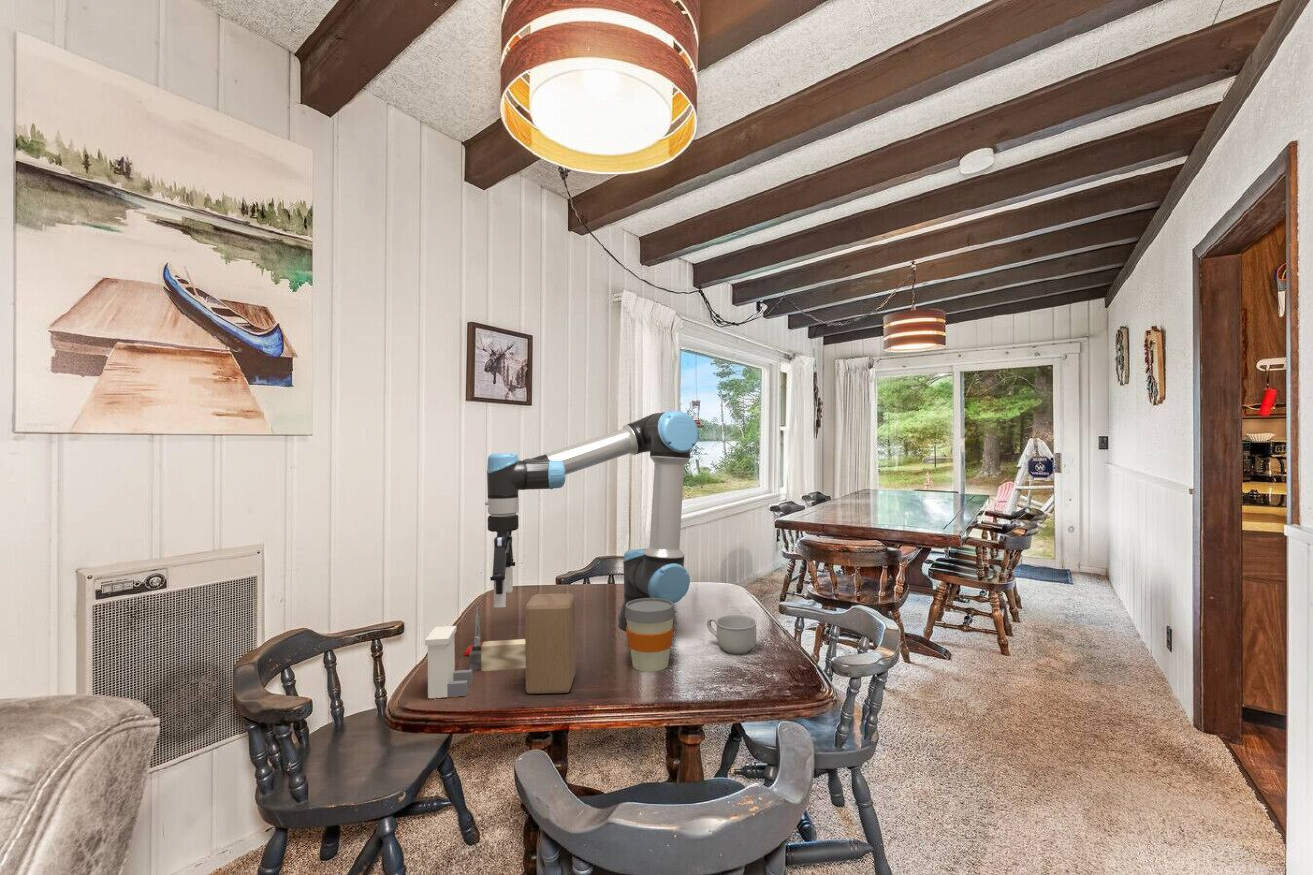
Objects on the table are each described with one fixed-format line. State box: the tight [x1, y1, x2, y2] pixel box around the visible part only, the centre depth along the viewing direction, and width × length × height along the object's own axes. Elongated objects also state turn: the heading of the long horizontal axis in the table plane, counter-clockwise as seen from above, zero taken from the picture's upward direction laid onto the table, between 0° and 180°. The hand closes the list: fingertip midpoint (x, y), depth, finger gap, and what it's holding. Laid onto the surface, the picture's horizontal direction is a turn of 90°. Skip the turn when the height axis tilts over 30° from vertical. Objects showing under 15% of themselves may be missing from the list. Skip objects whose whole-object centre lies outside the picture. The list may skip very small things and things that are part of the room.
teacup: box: [706, 613, 758, 655], centre depth 151 cm, size 14×11×8 cm
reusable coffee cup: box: [625, 598, 676, 673], centre depth 141 cm, size 13×13×15 cm
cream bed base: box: [424, 625, 473, 699], centre depth 127 cm, size 8×9×13 cm
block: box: [524, 592, 576, 695], centre depth 129 cm, size 10×10×20 cm
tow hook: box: [463, 605, 483, 656], centre depth 152 cm, size 8×13×9 cm
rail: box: [468, 638, 526, 672], centre depth 140 cm, size 14×4×6 cm, turn 98°
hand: (503, 599), depth 141 cm, fingers open, 13 cm apart
